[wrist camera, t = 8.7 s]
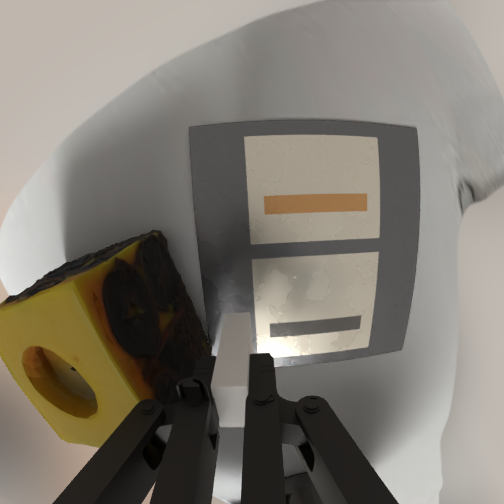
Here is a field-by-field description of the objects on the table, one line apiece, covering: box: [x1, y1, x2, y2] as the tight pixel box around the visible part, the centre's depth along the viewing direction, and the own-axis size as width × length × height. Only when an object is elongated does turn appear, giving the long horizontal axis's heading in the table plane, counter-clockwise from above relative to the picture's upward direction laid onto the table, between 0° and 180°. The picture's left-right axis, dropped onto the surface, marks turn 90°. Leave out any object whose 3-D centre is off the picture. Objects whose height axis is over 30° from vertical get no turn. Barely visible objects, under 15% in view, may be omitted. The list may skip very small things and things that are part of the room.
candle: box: [0, 230, 212, 447], centre depth 15 cm, size 10×10×10 cm
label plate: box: [189, 120, 420, 367], centre depth 19 cm, size 18×16×1 cm
